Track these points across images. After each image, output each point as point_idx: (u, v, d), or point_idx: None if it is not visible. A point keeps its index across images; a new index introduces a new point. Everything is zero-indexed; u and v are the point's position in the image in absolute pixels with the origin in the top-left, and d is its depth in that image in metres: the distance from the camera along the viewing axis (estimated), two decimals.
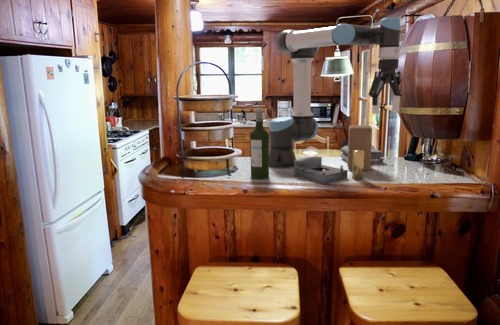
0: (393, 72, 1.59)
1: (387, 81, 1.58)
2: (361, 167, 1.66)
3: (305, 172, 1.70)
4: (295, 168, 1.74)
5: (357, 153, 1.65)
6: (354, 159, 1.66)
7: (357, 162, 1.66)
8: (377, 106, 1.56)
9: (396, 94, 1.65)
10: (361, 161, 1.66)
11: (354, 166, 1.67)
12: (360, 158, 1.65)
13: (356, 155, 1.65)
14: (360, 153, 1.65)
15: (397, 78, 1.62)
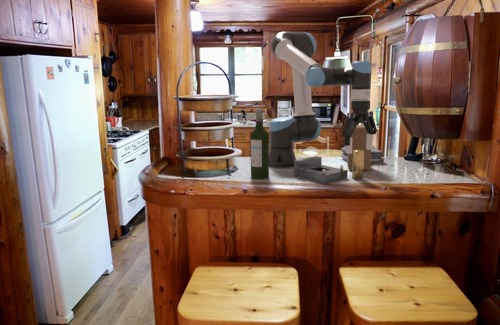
0: (365, 112, 1.64)
1: (359, 121, 1.62)
2: (361, 167, 1.66)
3: (305, 172, 1.70)
4: (295, 168, 1.74)
5: (357, 153, 1.65)
6: (354, 159, 1.66)
7: (357, 162, 1.66)
8: (350, 146, 1.61)
9: (370, 132, 1.69)
10: (361, 161, 1.66)
11: (354, 166, 1.67)
12: (360, 158, 1.65)
13: (356, 155, 1.65)
14: (360, 153, 1.65)
15: (370, 117, 1.67)
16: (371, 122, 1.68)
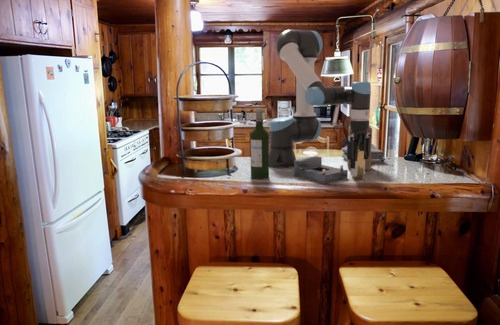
0: (365, 131, 1.66)
1: None
2: (361, 167, 1.66)
3: (305, 172, 1.70)
4: (295, 168, 1.74)
5: (357, 153, 1.65)
6: None
7: None
8: (355, 169, 1.66)
9: None
10: (361, 161, 1.66)
11: None
12: (360, 158, 1.65)
13: None
14: (360, 153, 1.65)
15: (367, 139, 1.68)
16: (366, 145, 1.69)
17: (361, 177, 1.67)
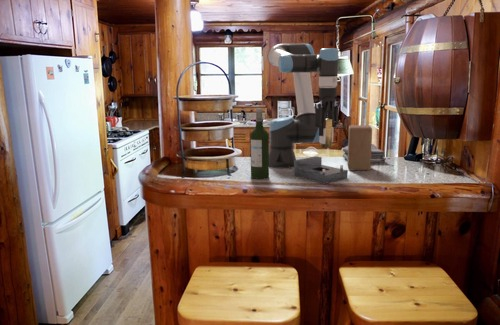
0: (333, 98, 1.66)
1: None
2: (329, 135, 1.67)
3: (305, 172, 1.70)
4: (295, 168, 1.74)
5: (325, 121, 1.66)
6: None
7: None
8: (323, 137, 1.67)
9: None
10: (329, 129, 1.67)
11: None
12: (328, 126, 1.66)
13: None
14: (328, 121, 1.66)
15: (335, 107, 1.69)
16: (335, 113, 1.70)
17: (329, 145, 1.68)
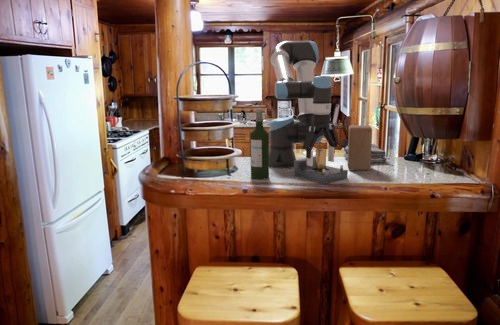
0: (326, 125, 1.69)
1: (320, 134, 1.67)
2: (323, 166, 1.70)
3: (305, 172, 1.70)
4: (295, 168, 1.74)
5: (319, 152, 1.68)
6: (316, 158, 1.70)
7: (319, 161, 1.69)
8: (311, 159, 1.66)
9: (331, 145, 1.74)
10: (323, 160, 1.69)
11: (316, 165, 1.70)
12: (322, 157, 1.69)
13: (318, 154, 1.69)
14: (322, 152, 1.68)
15: (331, 130, 1.72)
16: (332, 135, 1.73)
17: None
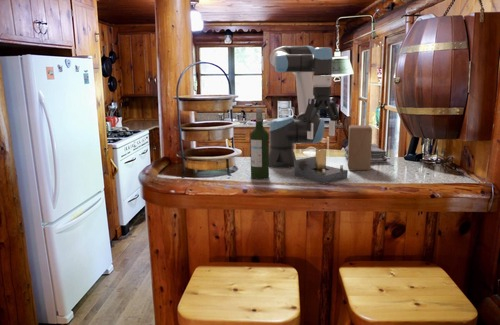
0: (327, 98, 1.66)
1: (321, 107, 1.65)
2: (323, 166, 1.70)
3: (305, 172, 1.70)
4: (295, 168, 1.74)
5: (319, 152, 1.68)
6: (316, 158, 1.70)
7: (319, 161, 1.69)
8: (311, 132, 1.64)
9: (332, 119, 1.72)
10: (323, 160, 1.69)
11: (316, 165, 1.70)
12: (322, 157, 1.69)
13: (318, 154, 1.69)
14: (322, 152, 1.68)
15: (332, 104, 1.69)
16: (333, 108, 1.70)
17: None
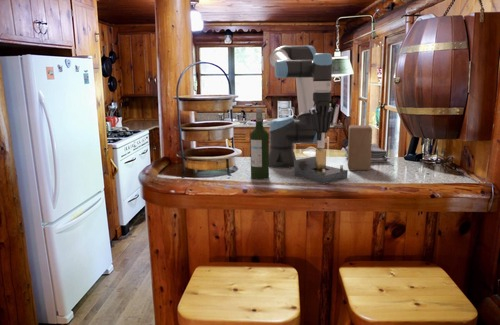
0: (328, 103, 1.67)
1: None
2: (323, 166, 1.70)
3: (305, 172, 1.70)
4: (295, 168, 1.74)
5: (319, 152, 1.68)
6: (316, 158, 1.70)
7: (319, 161, 1.69)
8: (321, 141, 1.68)
9: (322, 131, 1.69)
10: (323, 160, 1.69)
11: (316, 165, 1.70)
12: (322, 157, 1.69)
13: (318, 154, 1.69)
14: (322, 152, 1.68)
15: (329, 113, 1.69)
16: (328, 118, 1.69)
17: None
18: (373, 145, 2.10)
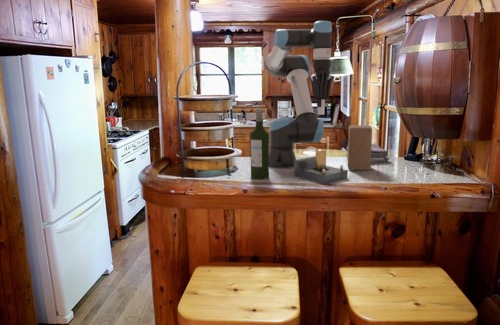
0: (328, 70, 1.72)
1: None
2: (323, 166, 1.70)
3: (305, 172, 1.70)
4: (295, 168, 1.74)
5: (319, 152, 1.68)
6: (316, 158, 1.70)
7: (319, 161, 1.69)
8: (321, 107, 1.74)
9: None
10: (323, 160, 1.69)
11: (316, 165, 1.70)
12: (322, 157, 1.69)
13: (318, 154, 1.69)
14: (322, 152, 1.68)
15: (329, 80, 1.74)
16: (327, 85, 1.75)
17: None
18: (374, 145, 2.10)
